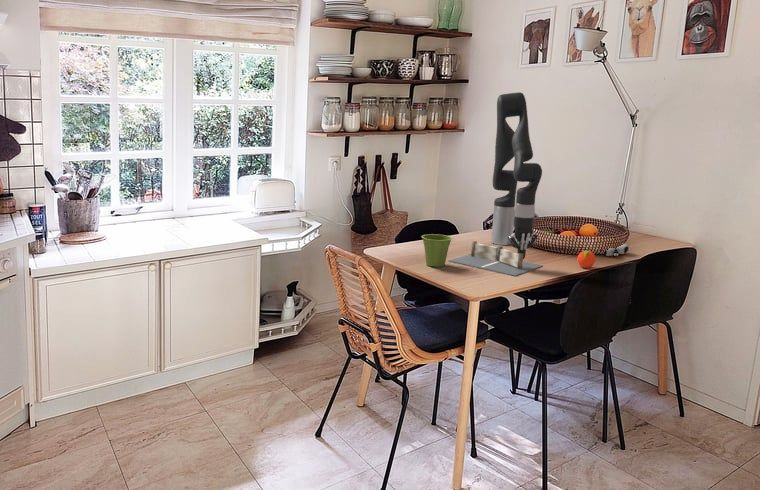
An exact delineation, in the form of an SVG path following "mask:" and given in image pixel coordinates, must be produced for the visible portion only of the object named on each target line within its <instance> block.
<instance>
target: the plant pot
mask: <svg viewBox="0 0 760 490" xmlns="http://www.w3.org/2000/svg"><path fill="white" fill-rule="evenodd" d="M421 239H422V241H423V246H424V257H425V264H426V266H427V267H434V268H441V267H444V266H445V265H446V261H447V257H448V252H449V247H450V245H451V240H452V241H453V237H452V236H450V235H445V234H433V233H431V234H430V233H429V234H423V235H421Z"/></svg>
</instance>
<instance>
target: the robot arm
mask: <svg viewBox="0 0 760 490" xmlns="http://www.w3.org/2000/svg"><path fill="white" fill-rule="evenodd" d="M527 106H528V105H527V101H526V97H525V94H524V93H522V92H510V93H503V94H500V95H498V97H497V101H496V133H495V134H496V137H495V149H494V150H495V151H494V153H495V155H494V167H493V175H492V187H493V189H494V190H496V191H503V192H504V191H505V192H508V193H507V194H505V195H503V196H499V197H497V198H495V199H494V202H493V203H494V204H493V216H492V226H491V227H492V228H491V229H492V230H491V244H493V243H494V244H495V245H498V246H509V245H511V246H512V247H513V249H514V248H515V249H517V254H519V253H523V260H524V259H525V258H526V253H527V249H530V248H531V247H532V246H533V244H534V243H535V241H536V240H537V239H538V237H539V236H538V234H535V233H534V230H533V228H534V226H535V212H536V208H535V204H536V194H537V190H538V187H539V184H540V182H541V179H542V176H543V169H542V166H541V165H540V164H539V163H537V162H536V163H535V162H529V163H527V162H528V161H530V160H532V159H533V158H534V157H533V156H534V152H533V146H532V143H531V139H530V131H529V130H530V129H529V117H528V107H527ZM513 117H518V118H519V119H518V125H517V127H516V129H515V131H514V129H512V127H511V126H510V125H509V123H508V122H507V119H508V118H513ZM513 158H514V160H513V161H514V162H513V163H514V165H513V170H511V169H510V170H508V169H504V167H505V166H506V165H507V164H508V163H509V162H511V160H512V159H513ZM518 182H521V183H524V182H525V183H527V182H528V184H527V185H525V186H523V187H519V188H518V187H517V186H518Z"/></svg>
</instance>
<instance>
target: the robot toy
mask: <svg viewBox="0 0 760 490" xmlns="http://www.w3.org/2000/svg"><path fill="white" fill-rule="evenodd" d="M622 244H623V245H621V246H619V247H617V248H616V249H615V248H609V249H608V250H607V251H605V252H604V253H603V254H604V255H606V256H605V257H609V256H611V257H612V256H614V257H618V256H619V254H622V255H624V254H625V253H627V252H628V251H630V249H632V247H633V245H631V246H630V247H629V246H628V245H627V244H626V243H622ZM604 255H603V256H604Z"/></svg>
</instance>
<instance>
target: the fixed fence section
mask: <svg viewBox="0 0 760 490" xmlns="http://www.w3.org/2000/svg"><path fill="white" fill-rule="evenodd" d="M497 251H498V246H492V245H488V244H482V243H479V242H478V241H477V240H476V241H475V240H471V251H470V252H471V253H470V254H471V256H472V257H478V258H483V259H487V260H492V261H497Z"/></svg>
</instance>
